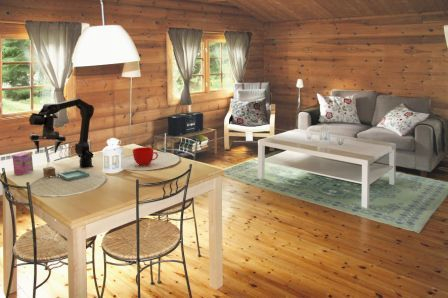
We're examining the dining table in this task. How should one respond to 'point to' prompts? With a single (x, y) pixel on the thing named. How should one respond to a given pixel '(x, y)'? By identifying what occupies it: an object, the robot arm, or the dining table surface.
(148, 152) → the ceramic cup
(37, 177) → the dining table surface
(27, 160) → the box
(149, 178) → the dining table surface
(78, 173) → the tray
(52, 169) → the cube
